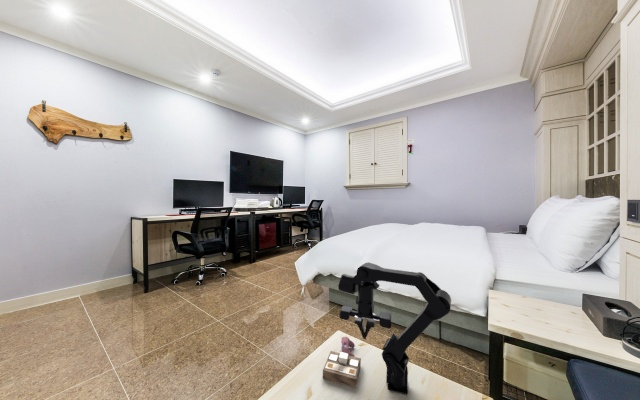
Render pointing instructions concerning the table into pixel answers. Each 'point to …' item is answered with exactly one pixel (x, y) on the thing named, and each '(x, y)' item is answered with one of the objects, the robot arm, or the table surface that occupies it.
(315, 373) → the table surface
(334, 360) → the key
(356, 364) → the key
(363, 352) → the table surface
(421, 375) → the table surface
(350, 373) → the keypad
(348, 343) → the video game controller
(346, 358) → the key middle
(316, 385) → the table surface
